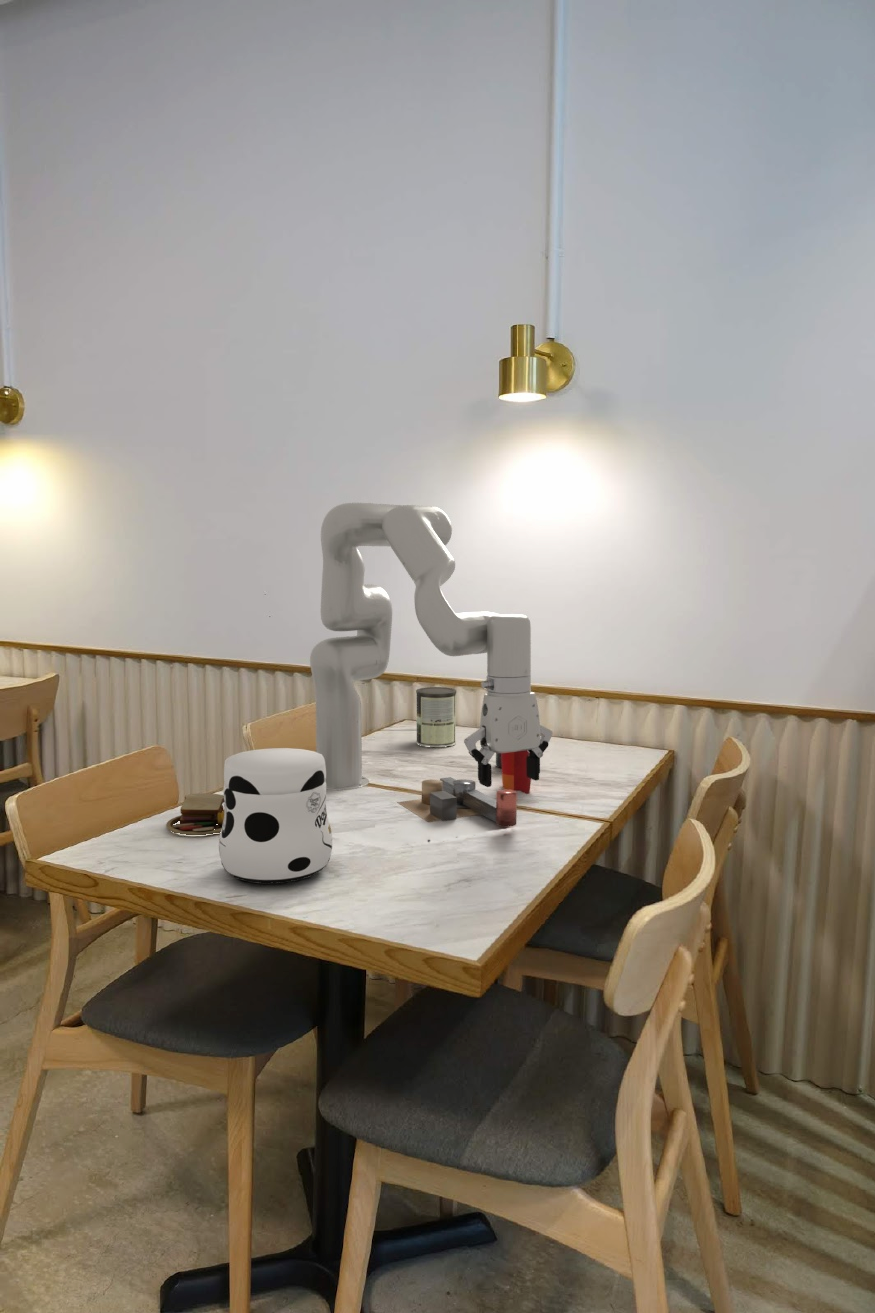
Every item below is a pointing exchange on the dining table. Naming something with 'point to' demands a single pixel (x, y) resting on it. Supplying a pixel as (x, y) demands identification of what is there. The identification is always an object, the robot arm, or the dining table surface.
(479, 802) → the lever
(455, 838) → the dining table surface
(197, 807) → the toy sandwich meal
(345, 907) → the dining table surface
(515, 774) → the paper cup
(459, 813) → the base
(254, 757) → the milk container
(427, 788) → the cylinder
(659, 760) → the dining table surface
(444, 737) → the coffee can
